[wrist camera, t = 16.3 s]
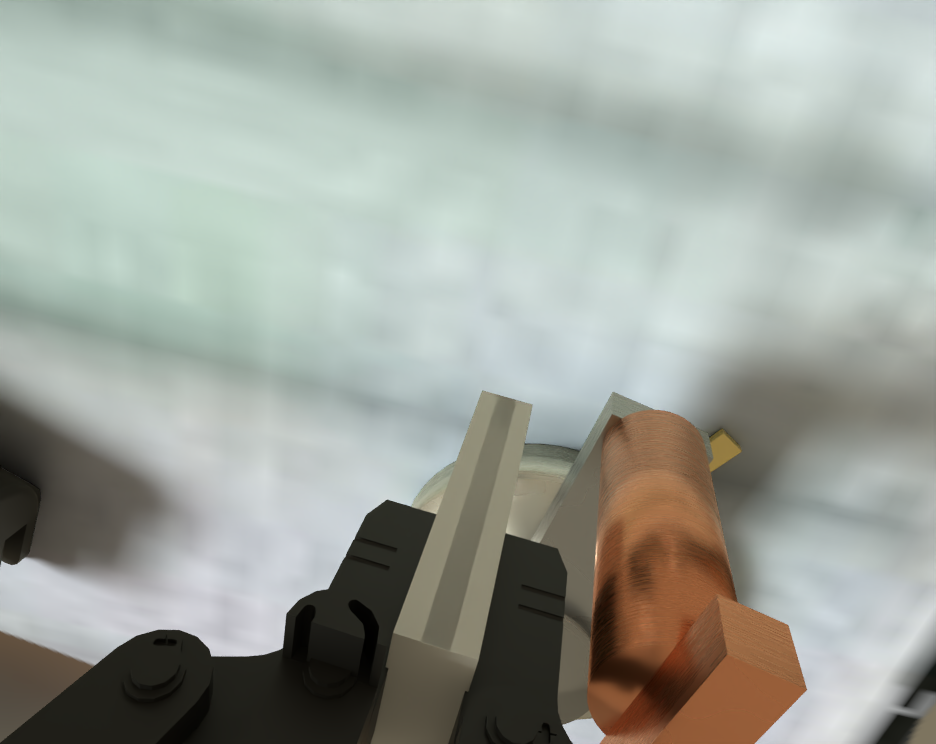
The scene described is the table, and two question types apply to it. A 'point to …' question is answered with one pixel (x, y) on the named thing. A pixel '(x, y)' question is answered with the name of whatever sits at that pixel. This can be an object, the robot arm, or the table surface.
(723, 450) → the crank housing
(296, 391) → the table surface
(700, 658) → the crank
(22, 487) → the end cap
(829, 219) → the table surface
